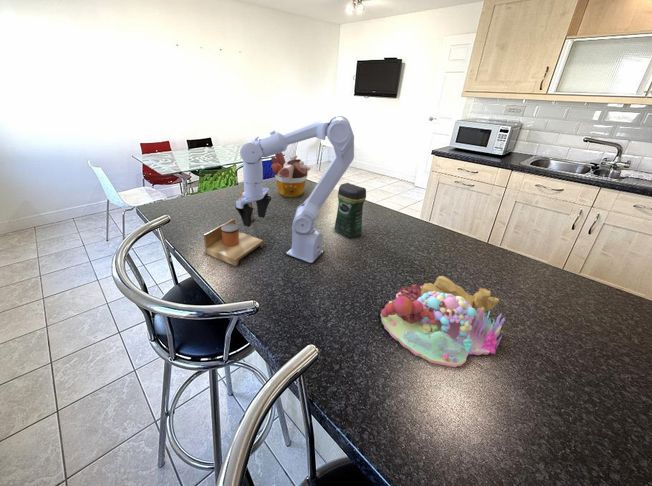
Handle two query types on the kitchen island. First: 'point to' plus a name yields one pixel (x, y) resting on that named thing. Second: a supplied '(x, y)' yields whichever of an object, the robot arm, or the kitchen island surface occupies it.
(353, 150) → the robot arm
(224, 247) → the shelf
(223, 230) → the pot
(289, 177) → the bucket of meat
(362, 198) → the coffee jar
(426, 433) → the kitchen island surface
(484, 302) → the candy landscape model
